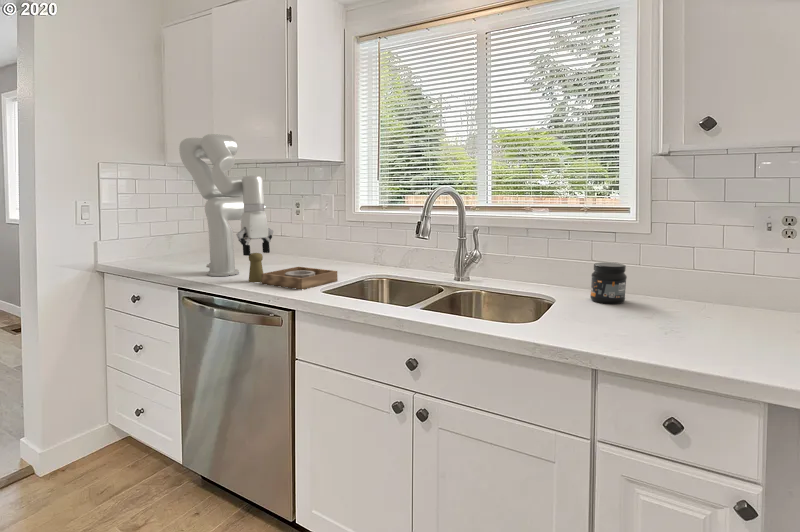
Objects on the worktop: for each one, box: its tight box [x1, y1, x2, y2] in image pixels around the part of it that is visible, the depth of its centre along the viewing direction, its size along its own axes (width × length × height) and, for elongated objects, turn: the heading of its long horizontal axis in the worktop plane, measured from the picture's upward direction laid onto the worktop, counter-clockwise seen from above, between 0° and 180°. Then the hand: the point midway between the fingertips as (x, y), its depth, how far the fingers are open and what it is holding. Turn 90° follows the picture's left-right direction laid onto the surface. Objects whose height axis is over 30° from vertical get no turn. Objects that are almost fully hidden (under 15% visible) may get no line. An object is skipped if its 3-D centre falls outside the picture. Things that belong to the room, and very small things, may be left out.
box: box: [261, 266, 338, 290], centre depth 198 cm, size 20×20×4 cm
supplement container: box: [590, 262, 628, 305], centre depth 167 cm, size 10×10×12 cm
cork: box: [248, 252, 264, 283], centre depth 199 cm, size 6×6×11 cm
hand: (256, 254), depth 198 cm, fingers open, 9 cm apart
